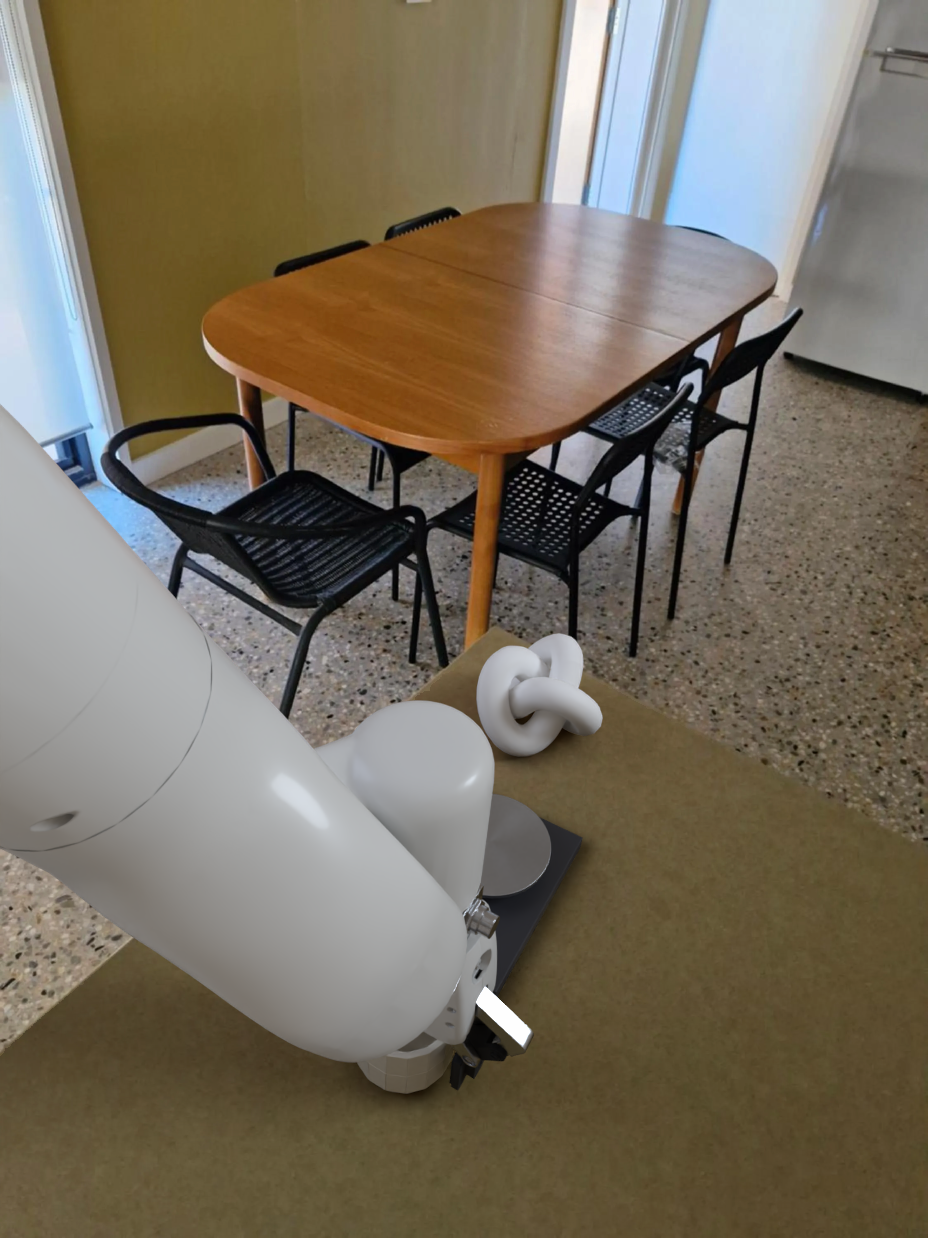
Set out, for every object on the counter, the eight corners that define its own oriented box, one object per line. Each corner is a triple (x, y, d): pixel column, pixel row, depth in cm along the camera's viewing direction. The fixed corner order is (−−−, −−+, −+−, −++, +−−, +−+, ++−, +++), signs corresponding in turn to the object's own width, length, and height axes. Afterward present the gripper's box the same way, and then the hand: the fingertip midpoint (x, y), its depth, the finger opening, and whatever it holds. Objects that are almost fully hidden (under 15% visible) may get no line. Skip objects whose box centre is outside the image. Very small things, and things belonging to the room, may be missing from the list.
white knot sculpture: (507, 792, 80) (517, 723, 74) (447, 706, 88) (452, 637, 82) (609, 754, 85) (627, 685, 79) (543, 675, 93) (555, 608, 87)
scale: (492, 1006, 65) (495, 985, 63) (330, 914, 69) (329, 892, 68) (580, 847, 76) (585, 825, 74) (436, 778, 81) (438, 755, 79)
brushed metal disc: (516, 920, 67) (517, 917, 67) (404, 861, 70) (404, 858, 70) (570, 828, 74) (570, 825, 74) (465, 778, 77) (465, 775, 77)
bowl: (420, 1117, 58) (424, 1079, 55) (334, 1062, 61) (332, 1022, 57) (471, 1028, 63) (477, 988, 60) (389, 980, 66) (390, 939, 62)
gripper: (579, 910, 50) (542, 1051, 61) (326, 782, 56) (334, 932, 67) (520, 1023, 45) (491, 1155, 56) (248, 869, 51) (271, 1016, 62)
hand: (406, 1033), depth 61 cm, fingers open, 8 cm apart
